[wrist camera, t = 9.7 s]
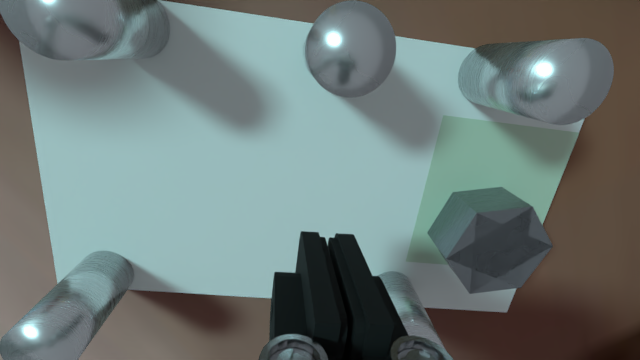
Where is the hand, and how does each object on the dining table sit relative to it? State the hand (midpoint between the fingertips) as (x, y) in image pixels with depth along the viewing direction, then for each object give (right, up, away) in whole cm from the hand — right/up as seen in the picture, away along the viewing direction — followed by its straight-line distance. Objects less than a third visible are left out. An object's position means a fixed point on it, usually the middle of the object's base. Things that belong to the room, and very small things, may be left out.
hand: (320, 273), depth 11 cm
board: (0, +3, +7) cm, 7 cm away
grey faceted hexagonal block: (+8, 0, +7) cm, 11 cm away
